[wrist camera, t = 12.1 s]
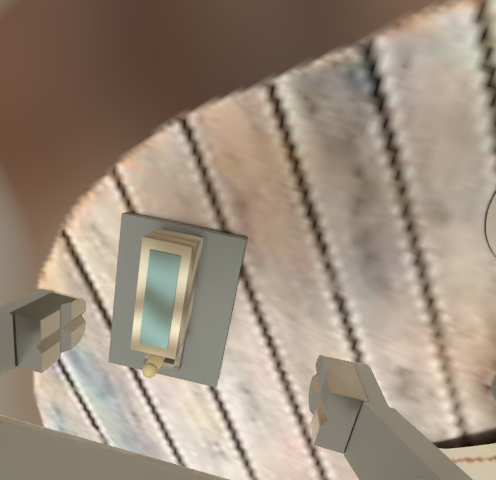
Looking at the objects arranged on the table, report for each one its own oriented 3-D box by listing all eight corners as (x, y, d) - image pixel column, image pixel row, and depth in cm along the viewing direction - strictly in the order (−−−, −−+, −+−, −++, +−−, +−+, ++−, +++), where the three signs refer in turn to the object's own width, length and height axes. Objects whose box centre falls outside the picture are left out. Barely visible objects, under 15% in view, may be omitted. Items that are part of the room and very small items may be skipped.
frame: (161, 228, 33) (141, 237, 28) (203, 237, 33) (191, 247, 28) (145, 357, 37) (125, 385, 32) (182, 366, 37) (169, 395, 32)
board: (247, 237, 34) (240, 252, 27) (218, 379, 39) (206, 424, 32) (128, 212, 35) (90, 219, 27) (114, 355, 39) (79, 393, 32)
